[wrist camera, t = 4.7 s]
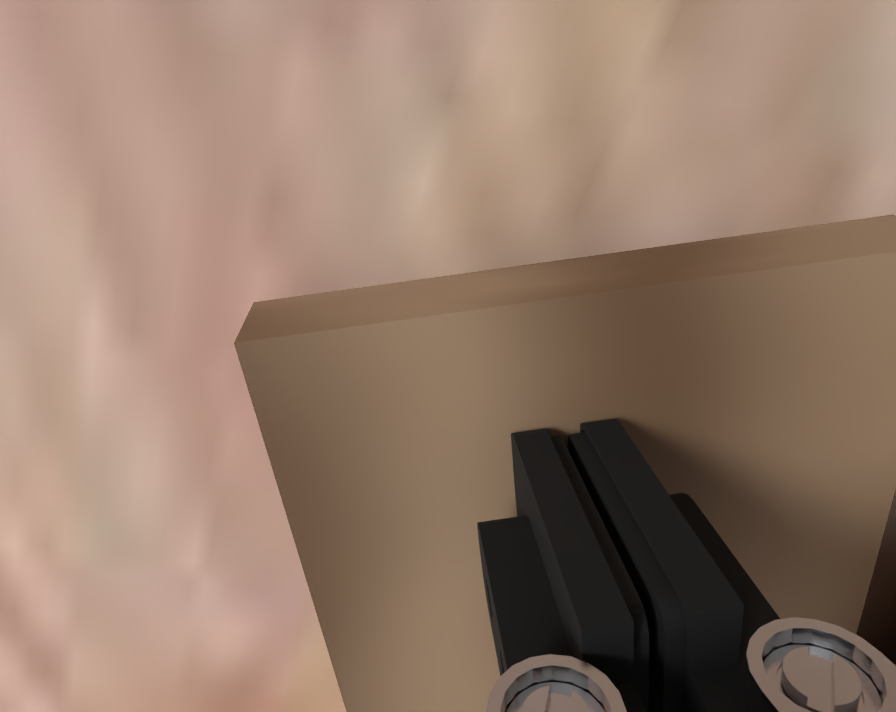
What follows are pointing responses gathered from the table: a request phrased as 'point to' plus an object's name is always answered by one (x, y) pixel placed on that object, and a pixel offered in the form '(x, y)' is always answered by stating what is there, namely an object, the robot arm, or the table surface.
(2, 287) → the table surface
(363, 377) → the plank
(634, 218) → the table surface
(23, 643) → the table surface
